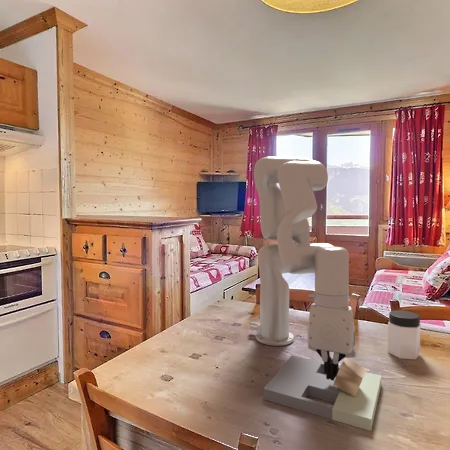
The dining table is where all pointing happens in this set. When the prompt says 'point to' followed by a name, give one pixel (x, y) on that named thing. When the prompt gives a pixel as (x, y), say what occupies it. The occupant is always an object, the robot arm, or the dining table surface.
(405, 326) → the jar
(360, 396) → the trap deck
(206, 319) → the dining table surface
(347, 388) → the birch block
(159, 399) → the dining table surface
